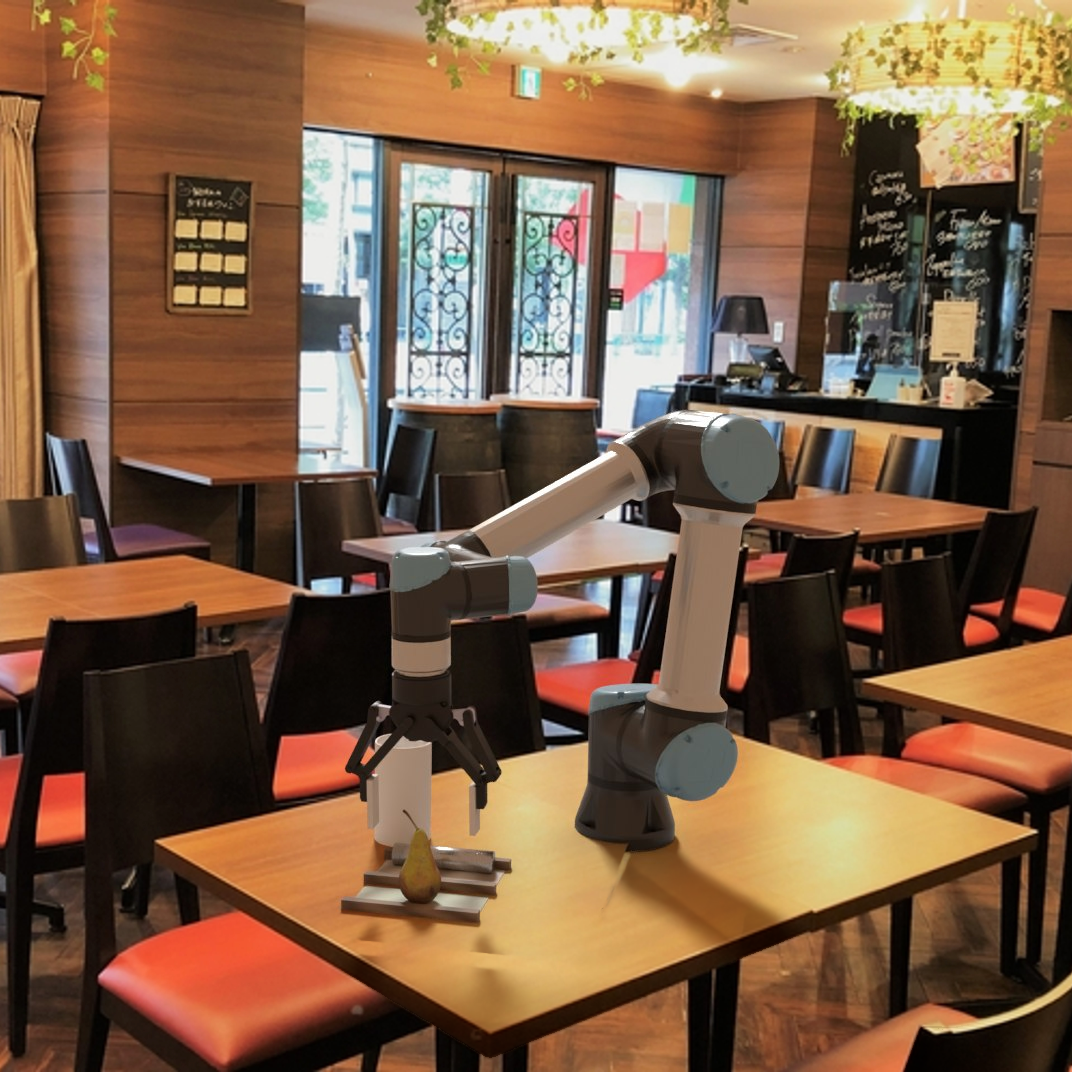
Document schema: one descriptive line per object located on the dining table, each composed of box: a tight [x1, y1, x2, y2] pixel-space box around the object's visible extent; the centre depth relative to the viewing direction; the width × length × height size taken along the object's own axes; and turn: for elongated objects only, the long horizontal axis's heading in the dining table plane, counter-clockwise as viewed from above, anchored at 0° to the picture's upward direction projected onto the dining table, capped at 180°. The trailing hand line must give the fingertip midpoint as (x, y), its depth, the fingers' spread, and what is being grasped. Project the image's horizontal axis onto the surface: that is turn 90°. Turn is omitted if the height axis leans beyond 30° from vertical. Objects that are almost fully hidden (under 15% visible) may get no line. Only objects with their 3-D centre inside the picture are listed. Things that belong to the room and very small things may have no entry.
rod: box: [392, 842, 496, 873], centre depth 207 cm, size 14×3×3 cm
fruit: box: [398, 810, 441, 904], centre depth 195 cm, size 6×6×12 cm
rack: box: [340, 847, 512, 924], centre depth 201 cm, size 18×20×3 cm
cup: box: [373, 733, 433, 848], centre depth 219 cm, size 8×8×16 cm
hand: (423, 829), depth 195 cm, fingers open, 13 cm apart
